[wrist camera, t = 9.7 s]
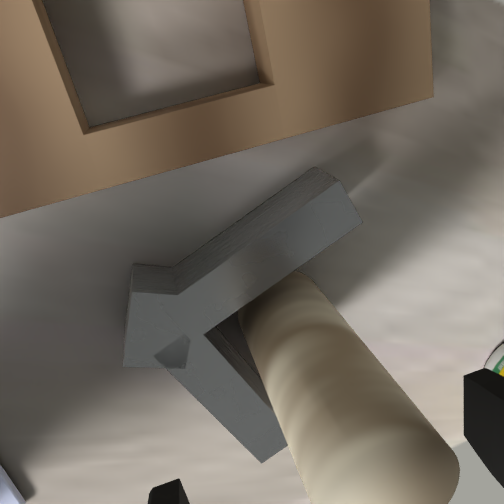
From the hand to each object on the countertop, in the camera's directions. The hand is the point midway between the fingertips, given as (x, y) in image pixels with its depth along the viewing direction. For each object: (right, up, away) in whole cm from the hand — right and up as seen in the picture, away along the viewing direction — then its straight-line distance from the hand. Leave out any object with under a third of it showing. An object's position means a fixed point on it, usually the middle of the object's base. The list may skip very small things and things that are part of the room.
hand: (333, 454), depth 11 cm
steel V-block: (-3, +2, +9) cm, 10 cm away
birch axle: (-1, +2, +10) cm, 10 cm away
